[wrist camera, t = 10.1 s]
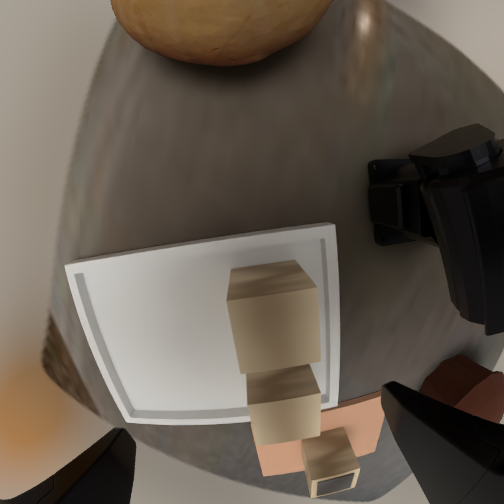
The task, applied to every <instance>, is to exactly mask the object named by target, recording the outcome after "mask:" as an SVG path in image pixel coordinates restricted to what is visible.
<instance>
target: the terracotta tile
mask: <svg viewBox="0 0 504 504" xmlns="http://www.w3.org/2000/svg"><path fill="white" fill-rule="evenodd" d="M384 415H385V414H384V411H383V409H382V407H381V391H378V392H375V393H372V394H369V395H365V396H362V397H358V398H355V399H351V400H348V401H344V402H340V403H338V406H335V407H331V408H327V409H322V410H321V425H320V432H323V431H327V430H331V429H335V428H339V427H344V429H345V432H346V434H347V436H348V439H349V441H350V444H351V446H352V448H353V451H354V453H355V456H356V457H359V456H363V455H366V454H369V453H372V452H375V448H376V445H377V442H378V438H379V435H380V431H381V427H382V423H383V419H384ZM250 422H251V421H250ZM251 428H252V424H251ZM252 432H253V429H252ZM253 436H254V433H253ZM254 441H255V437H254ZM255 445H256V441H255ZM256 449H257V453H258V457H259V461H260V465H261V469H262V473H263V476H271V475H278V474H285V473H292V472H298V471H303V470H304V465H303V461H302V450H301V440H296V441H290V442H284V443H277V444H270V445H262V446H256Z"/></svg>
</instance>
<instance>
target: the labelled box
mask: <svg viewBox="0 0 504 504" xmlns="http://www.w3.org/2000/svg"><path fill="white" fill-rule="evenodd" d="M301 450H302V461H303V465H304V470H305V474H306V478H307V483H308V487H309V492H310V496H311V498H315V497H319V496H324V495H328V494H332V493H336V492H340V491H343V490H347V489H350V488H354V487H355V484H356V481H357V478H358V475H359V472H360V465H359V463H358V461H357V458H356V456H355V453H354V451H353V448H352V446H351V444H350V441H349V439H348V436H347V434H346V432H345V429H344V427H339V428H335V429H331V430H327V431H323V432H320V436H316V437H312V438H307V439H301Z"/></svg>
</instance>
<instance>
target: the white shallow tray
mask: <svg viewBox="0 0 504 504" xmlns="http://www.w3.org/2000/svg"><path fill="white" fill-rule="evenodd" d="M289 260H296V261H297V263H298V264H299V265H300V266H301V267H302V269H303V270H304V271H305V272H306V274H307V275H308V276H309V277H310V278H311V280H312V281H313V282H314V283H315V285H316V286H317V287H318V301H319V320H320V348H321V361H320V362H316V363H311V364H310V366H311V369H312V371H313V374H314V376H315V379H316V381H317V384H318V387H319V389H320V392H321V410H322V409H327V408H331V407H335V406H338V391H339V367H340V297H339V272H338V255H337V241H336V229H335V224H332V223H329V222H322V223H315V224H307V225H299V226H292V227H284V228H277V229H269V230H262V231H255V232H248V233H241V234H234V235H227V236H220V237H213V238H207V239H200V240H193V241H187V242H180V243H174V244H168V245H161V246H155V247H149V248H143V249H137V250H131V251H125V252H119V253H113V254H107V255H101V256H95V257H90V258H84V259H78V260H75V261H73V262H70V263H68V264H66V265H64V266H65V270H66V274H67V278H68V281H69V285H70V289H71V292H72V296H73V299H74V302H75V306H76V309H77V312H78V315H79V318H80V321H81V324H82V327H83V329H84V332H85V335H86V337H87V340H88V343H89V345H90V348H91V350H92V353H93V355H94V358H95V360H96V362H97V365H98V367H99V369H100V371H101V374H102V376H103V378H104V380H105V382H106V384H107V386H108V388H109V390H110V392H111V394H112V396H113V398H114V400H115V402H116V404H117V406H118V408H119V410H120V412H121V413H122V415H123V417H124V419H125V420H126V422H129V423H141V424H160V425H207V424H226V423H239V422H249V421H251V420H250V415H249V411H248V406H247V386H246V374H240V369H239V364H238V359H237V354H236V349H235V344H234V339H233V334H232V329H231V323H230V318H229V313H228V307H227V302H226V300H227V292H228V285H229V278H230V271H231V269H233V268H240V267H247V266H254V265H261V264H268V263H275V262H282V261H289Z"/></svg>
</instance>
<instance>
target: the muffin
mask: <svg viewBox="0 0 504 504" xmlns="http://www.w3.org/2000/svg"><path fill="white" fill-rule="evenodd" d="M419 392H420V393H422V394H424V395H427V396H429V397H431V398H433V399H436V400H438V401H440V402H443V403H445V404H448V405H450V406H453V407H455V408H457V409H460V410H462V411H465V412H467V413H470V414H472V415H475V416H478V417H481V418H483V419H486V420H489V421H492V422H496V423H499V422H500V421H501V419H502V417H503V413H504V374H503V373H502V372H499V371H495V372H492V371H490V370H488V369H487V368H485V367H483V366H481V365H479V364H477V363H475V362H473V361H471V360H469V359H468V358H466V357H464V356H462V355H460V354H459V355H457V356H455V357H453V358H451V359H449V360H446V361H443V362H442V363H441V364H440V365H439V366H438V367H437V369H436V370H435V371H434V372H432V373H431V374H430V375H429V376H428V377H427V378H426V379H425V381H424V383H423V385H422V387H421V389H420V390H419Z"/></svg>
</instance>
